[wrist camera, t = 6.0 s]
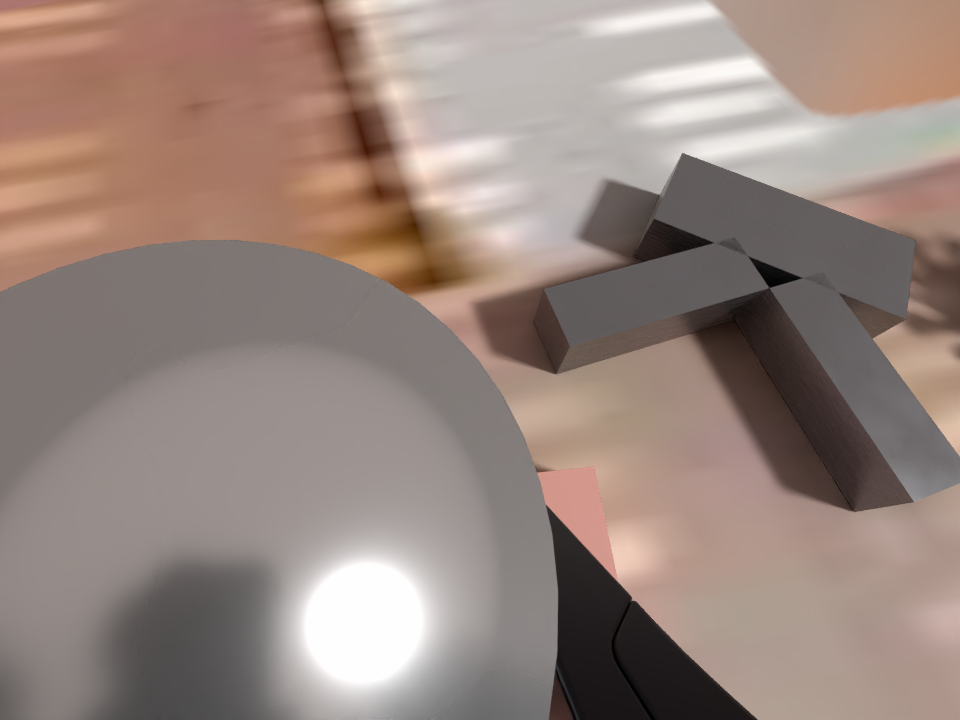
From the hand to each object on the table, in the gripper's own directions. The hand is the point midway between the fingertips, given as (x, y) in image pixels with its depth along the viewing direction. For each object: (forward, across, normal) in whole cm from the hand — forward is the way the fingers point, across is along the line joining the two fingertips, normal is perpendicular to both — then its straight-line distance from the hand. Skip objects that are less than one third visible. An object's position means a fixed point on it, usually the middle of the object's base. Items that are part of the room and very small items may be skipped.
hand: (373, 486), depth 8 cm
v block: (+16, -15, +1) cm, 22 cm away
